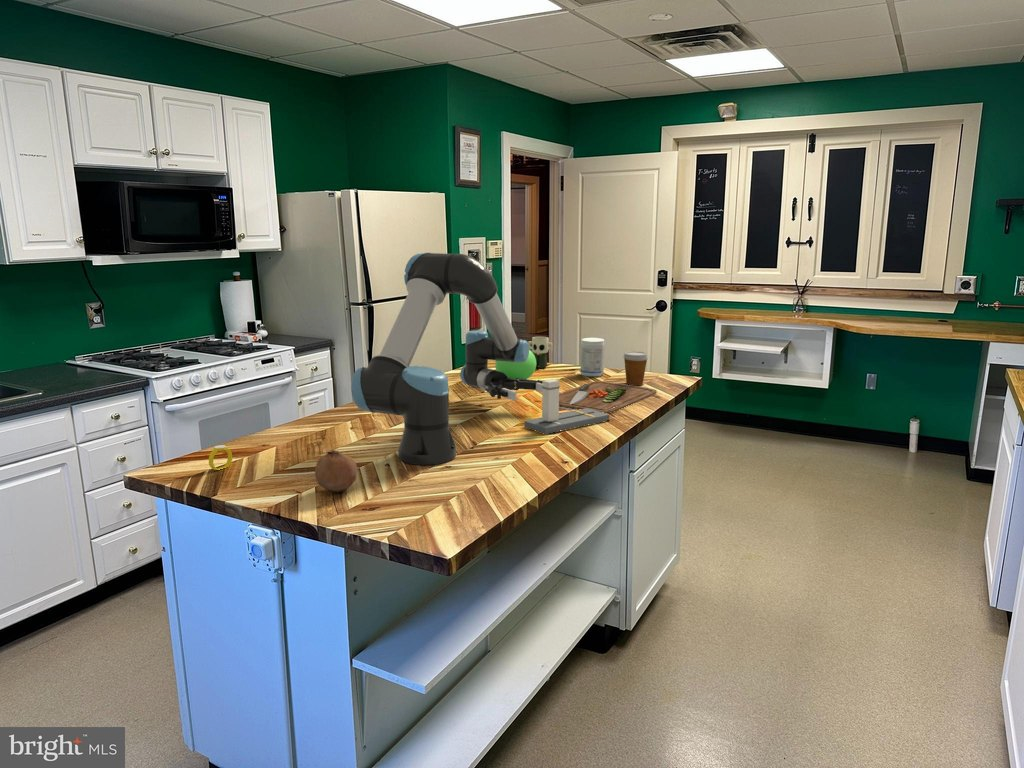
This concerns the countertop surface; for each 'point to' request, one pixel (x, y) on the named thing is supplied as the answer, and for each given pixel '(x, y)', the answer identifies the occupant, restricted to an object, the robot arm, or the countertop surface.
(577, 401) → the chopping board
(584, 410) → the fader console
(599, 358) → the supplement tub
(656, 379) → the countertop surface
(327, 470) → the onion
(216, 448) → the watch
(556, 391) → the fader knob
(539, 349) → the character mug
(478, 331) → the robot arm
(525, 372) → the green rounded body
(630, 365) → the disposable coffee cup
